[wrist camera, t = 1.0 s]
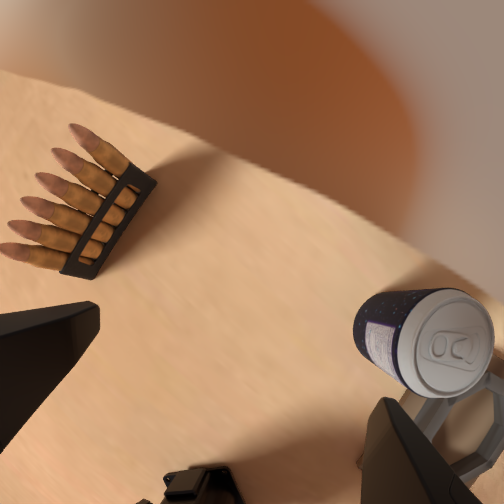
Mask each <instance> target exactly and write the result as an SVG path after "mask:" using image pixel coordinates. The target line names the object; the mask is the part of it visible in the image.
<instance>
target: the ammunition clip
mask: <svg viewBox="0 0 504 504" xmlns="http://www.w3.org/2000/svg"><path fill="white" fill-rule="evenodd" d="M68 127H69V131H70V133H71V135H72V136H73V138H74V139H75V140H76V142H77V143H78V144H79V145H80V146H81V147H82V148H84V149H85V150H86V151H87V152H88V153H89V154H90V155H91V156H92V157H93V159H94V160H95V161H96V162H97V163H98V164H99V165H101V166H102V167H103V168H105V170H103V169H101V168H100V167H98V166H97V165H95V164H93V163H91V162H88V161H86V160H84V159H83V158H80V157H79V156H77V155H76V154H74V153H72V152H70V151H68V150H65V149H61V148H52V149H51V153H52V155H53V157H54V158H55V160H56V161H57V162H58V163H59V164H60V165H61V166H62V167H63V168H64V169H65V170H67V171H68V172H70V173H71V174H72V175H74V176H75V177H76V178H78V180H79V181H80V182H81V183H82V184H84V185H85V186H87V187H89V188H90V189H91V191H90V190H88V189H86V188H85V187H83V186H81V185H79V184H76V183H71V182H69V181H67V180H64V179H62V178H60V177H58V176H56V175H53V174H49V173H43V172H40V173H36V174H35V178H36V180H37V181H38V183H39V184H40V185H41V186H42V187H43V188H44V189H46V190H47V191H49V192H50V193H52V194H54V195H56V196H57V197H59V198H60V199H62V200H64V201H65V202H66V203H67V204H68V205H70V206H72V207H74V208H76V209H78V210H76V209H74V208H71V207H69V206H67V205H64V204H57V203H54V202H51V201H48V200H45V199H42V198H38V197H30V196H27V197H22V198H21V199H20V201H21V203H22V204H23V206H24V207H25V208H26V209H28V210H29V211H30V212H32V213H34V214H35V215H37V216H39V217H42V218H44V219H46V220H48V221H50V222H52V223H53V224H55V225H56V226H53V225H44V224H40V223H35V222H31V221H26V220H12V221H9V222H8V223H7V225H8V227H9V228H10V229H11V230H12V231H14V232H15V233H16V234H18V235H20V236H22V237H24V238H26V239H30V240H33V241H35V242H38V243H40V244H42V245H44V246H42V245H27V244H20V243H2V244H0V253H1V254H3V255H4V256H6V257H8V258H11V259H13V260H17V261H22V262H24V263H28V264H31V265H33V266H35V267H39V268H45V269H51V270H57V271H59V273H60V274H64V275H69V276H74V277H78V278H83V279H88V280H93V279H94V278H95V276H96V274H97V273H98V271H99V269H100V268H101V266H102V264H103V263H104V261H105V260H106V258H107V256H108V255H109V253H110V252H111V250H112V248H113V247H114V245H115V244H116V242H117V241H118V239H119V238H120V236H121V235H122V233H123V232H124V230H125V229H126V227H127V226H128V224H129V223H130V221H131V220H132V218H133V217H134V215H135V214H136V212H137V211H138V209H139V208H140V207H141V205H142V204H143V202H144V201H145V200H146V198H147V197H148V195H149V194H150V193H151V191H152V190H153V188H154V187H155V186H156V184H157V182H156V181H155V180H154V179H152V178H151V177H150V176H148V175H147V174H146V173H144V172H143V171H142V170H140V169H139V168H138V167H136V166H135V165H134V164H133V163H132V162H131V161H130V160H128V159H127V158H126V157H125V156H124V155H123V154H122V153H120V152H119V151H118V150H117V149H116V148H115V147H114V146H113V145H111V144H110V143H108V142H106V141H104V140H102V139H101V138H100V137H99V136H97V135H95V134H94V133H93V132H92V131H90V130H89V129H87V128H85V127H83V126H81V125H78V124H69V126H68ZM113 175H114V176H115V177H117V178H118V179H119V180H117V179H115V178H114V177H112V176H113ZM98 194H100V195H102V196H104V197H106V199H104V198H102V197H101V196H99V195H98ZM86 213H87V214H89V215H87V214H86ZM90 215H91V216H90ZM92 216H93V217H92ZM57 226H58V227H57Z"/></svg>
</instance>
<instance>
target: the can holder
mask: <svg viewBox="0 0 504 504" xmlns="http://www.w3.org/2000/svg"><path fill="white" fill-rule="evenodd" d="M399 404H400V406H401V407H402V408H403V409H404V410H405V412H406V413H407V414H408V415H409V416H410V418H411V419H412V420H413V421H414V423H415V424H416V425H417V426H418V427H419V429H420V430H421V431H422V432H423V433H424V435H425V436H426V437H427V438H428V440H429V441H430V442H431V443H432V444H433V446H434V447H435V448H436V449H437V451H438V452H439V453H440V454H441V455H442V457H443V458H444V459H445V460H446V462H447V463H448V464H449V465H450V467H451V468H452V469H453V470H454V472H455V473H454V474H457V475H458V476H459V478H460V479H461V480H462V481H463V483H464V484H465V485H466V486H467V487H468V488H469V489H470V487H471V486H472V485H473V483H474V482H475V481H476V479H477V478H478V477H479V475H480V474H482V473H484V472H485V471H487V470H489V469H490V468H492V466H493V465H494V463H495V462H496V460H497V459H498V457H499V456H500V454H501V453H502V451H503V450H504V361H503V360H502V359H500V358H499V357H497V356H496V355H494V354H492V357H491V361H490V363H489V365H488V367H487V369H486V371H485V373H484V374H483V376H482V377H481V378H480V380H479V381H478V382H477V383H476V384H475V385H474V386H473V387H472V388H470V389H469V390H468V391H466V392H464V393H462V394H460V395H458V396H454V397H450V398H436V399H431V398H424V397H421V396H418V395H416V394H415V393H413V392H412V391H410V390H409V389H407V390H406V391H405V393H404V395H403V396H402V398H401V399H400V401H399ZM363 455H364V453H363ZM363 455H362V456H361V457H360V459H359V460H358V461H357V463H356V464H357V466H358V468H359V469H362V463H363Z"/></svg>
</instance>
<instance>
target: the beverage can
mask: <svg viewBox="0 0 504 504" xmlns="http://www.w3.org/2000/svg"><path fill="white" fill-rule="evenodd" d="M353 337H354V341H355V344H356V346H357V348H358V350H359V351H360V353H361V354H362V355H363V356H364V357H365V358H367V359H368V360H369V361H371V362H372V363H373V364H375V365H376V366H377V367H379V368H380V369H381V370H383V371H384V372H386V373H387V374H388V375H390V376H391V377H392V378H394V379H395V380H396V381H398V382H399V383H401V384H402V385H403V386H405V387H406V388H407V389H409V390H410V391H412V392H413V393H415V394H416V395H418V396H421V397H424V398H431V399H436V398H450V397H454V396H458V395H460V394H462V393H464V392H466V391H468V390H469V389H470V388H472V387H473V386H474V385H475V384H476V383H477V382H478V381H479V380H480V378H481V377H482V376H483V374H484V373H485V371H486V369H487V367H488V365H489V363H490V361H491V357H492V354H493V349H494V340H495V336H494V327H493V323H492V320H491V317H490V315H489V313H488V311H487V310H486V309H485V307H484V306H483V305H482V304H481V303H480V302H479V301H477V300H475V299H474V298H472V297H471V296H470V295H469V294H467V293H465V292H464V291H461V290H459V289H455V288H437V289H424V290H409V291H393V292H383V293H379V294H376V295H374V296H372V297H371V298H369V299H368V300H367V301H366V302H365V303H364V304H363V305H362V306H361V307H360V309H359V311H358V312H357V314H356V317H355V320H354V325H353Z"/></svg>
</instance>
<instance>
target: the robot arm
mask: <svg viewBox="0 0 504 504" xmlns="http://www.w3.org/2000/svg"><path fill="white" fill-rule="evenodd" d="M99 330H100V308H99V306H98V305H97V304H95V303H93V302H90V301H84V302H78V303H71V304H65V305H58V306H52V307H46V308H39V309H32V310H26V311H19V312H12V313H5V314H0V454H1V453H2V452H3V450H4V449H5V448H6V446H7V445H8V444H9V443H10V441H11V440H12V439H13V438H14V436H15V435H16V434H17V433H18V431H19V430H20V429H21V428H22V427H23V425H24V424H25V423H26V422H27V421H28V419H29V418H30V417H31V416H32V415H33V413H34V412H35V411H36V410H37V409H38V407H39V406H40V405H41V404H42V403H43V402H44V400H45V399H46V398H47V397H48V396H49V395H50V393H51V392H52V391H53V390H54V389H55V388H56V386H57V385H58V384H59V383H60V382H61V381H62V380H63V378H64V377H65V376H66V375H67V374H68V373H69V372H70V371H71V369H72V368H73V367H74V366H75V365H76V363H77V362H78V361H79V359H80V358H81V356H82V355H83V354H84V352H85V351H86V349H87V348H88V347H89V345H90V344H91V342H92V341H93V340H94V338H95V337H96V336H97V334H98V332H99ZM223 471H226V472H227V473H224V472H223ZM454 473H455V472H454V470H453V469H452V468H451V467H450V465H449V464H448V463H447V462H446V460H445V459H444V458H443V457H442V455H441V454H440V453H439V452H438V451H437V449H436V448H435V447H434V446H433V444H432V443H431V442H430V441H429V440H428V438H427V437H426V436H425V435H424V433H423V432H422V431H421V430H420V429H419V427H418V426H417V425H416V424H415V423H414V421H413V420H412V419H411V418H410V416H409V415H408V414H407V413H406V412H405V410H404V409H403V408H402V407H401V406H400V404H399V403H398V402H397V401H396V400H395V399H393V398H388V397H382V398H381V399H380V400H379V402H378V403H377V405H376V407H375V408H374V410H373V412H372V413H371V415H370V417H369V419H368V424H367V433H366V441H365V448H364V455H363V463H362V485H361V504H482V503H481V502H480V500H479V499H478V498H477V497H476V496H475V495H474V494H473V493H472V492H471V491H470V490H469V488H468V487H467V486H466V485H465V484H464V483H463V481H462V480H461V479H460V478H459V476H458V475H457V474H454ZM167 478H169V479H170V480H168V479H167ZM163 480H164V482H165V484H166V486H167V489H166V491H165V492H164V496H165V497H164V499H163V500H162V502H161V503H160V504H246V503H245V501H244V499H243V497H242V494H241V492H240V490H239V488H238V486H237V483H236V481H235V479H234V477H233V474H232V472H231V470H230V468H228V467H226V466H223V467H217V468H210V469H204V468H199V469H192V470H184V471H178V473H171V474H166V475H165V476H164V477H163ZM136 504H153V503H150V501H148V500H146V499H142V500H141V501H140V502H138V503H136Z"/></svg>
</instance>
